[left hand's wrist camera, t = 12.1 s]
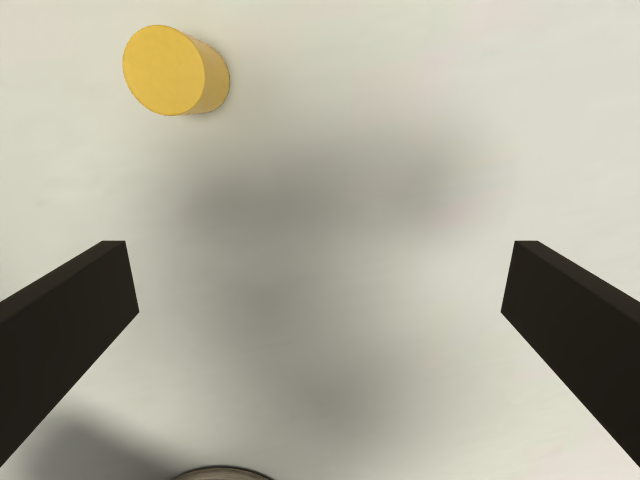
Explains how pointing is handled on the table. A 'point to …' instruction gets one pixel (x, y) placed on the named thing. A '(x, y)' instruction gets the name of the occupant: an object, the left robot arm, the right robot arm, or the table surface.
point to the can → (174, 72)
